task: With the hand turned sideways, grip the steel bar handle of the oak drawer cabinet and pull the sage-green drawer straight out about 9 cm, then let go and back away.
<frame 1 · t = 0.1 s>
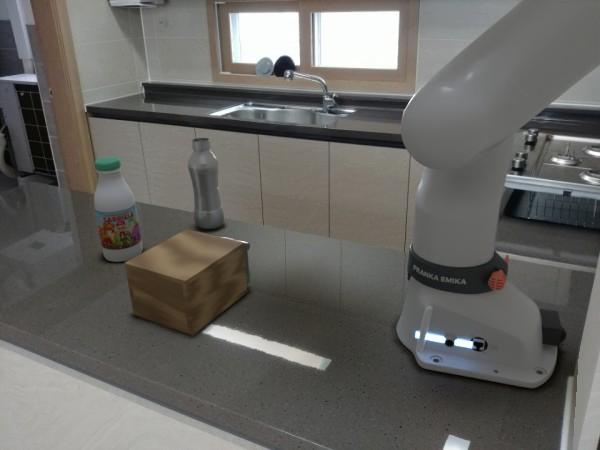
cabinet: (192, 303, 91), on the worktop
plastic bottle: (210, 227, 121), on the worktop
milk bottle: (123, 255, 109), on the worktop
drawer: (206, 266, 93), point 5 cm above the worktop, slide at 0.5 cm
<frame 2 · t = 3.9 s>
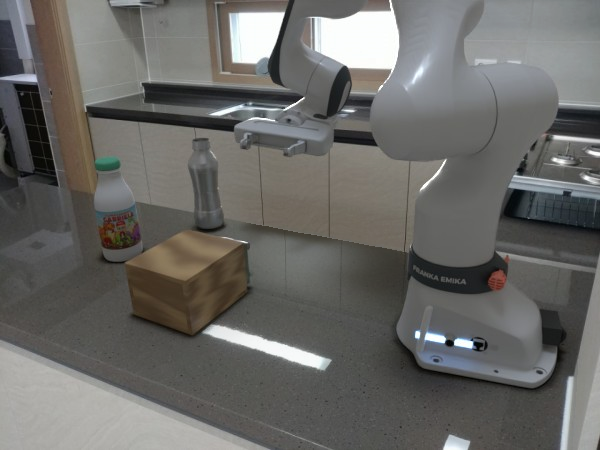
hand: (264, 149, 102), 21 cm above the worktop, tool horizontal, fingers open, 8 cm apart
nothing on the worktop moved.
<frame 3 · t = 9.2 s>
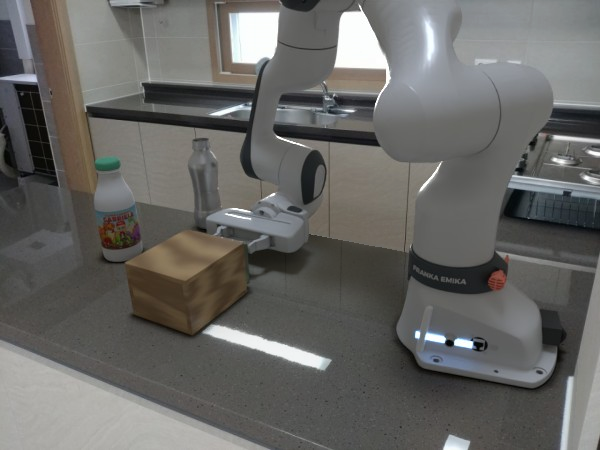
hand: (230, 245, 98), 6 cm above the worktop, tool horizontal, fingers closed on drawer, 6 cm apart
drawer: (206, 266, 93), point 5 cm above the worktop, slide at 0.5 cm, touching gripper
everything else where it was.
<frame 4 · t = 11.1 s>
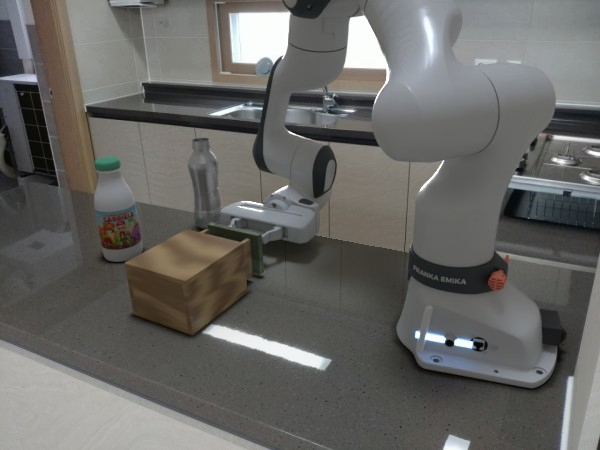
hand: (244, 236, 101), 6 cm above the worktop, tool horizontal, fingers closed on drawer, 6 cm apart
drawer: (222, 256, 96), point 5 cm above the worktop, slide at 5.0 cm, touching gripper
everything else where it was.
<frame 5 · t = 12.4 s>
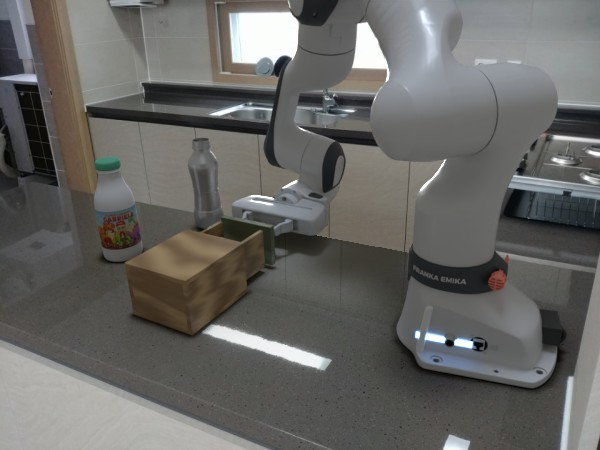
hand: (256, 228, 104), 6 cm above the worktop, tool horizontal, fingers closed on drawer, 6 cm apart
drawer: (235, 247, 99), point 5 cm above the worktop, slide at 9.0 cm, touching gripper
everything else where it was.
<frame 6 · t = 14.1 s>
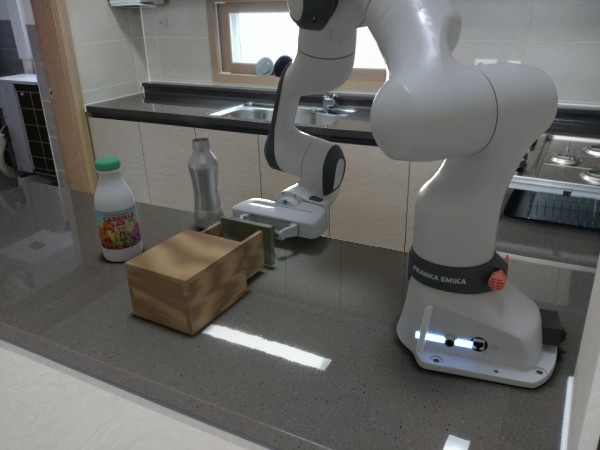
hand: (257, 231, 105), 5 cm above the worktop, tool horizontal, fingers open, 8 cm apart
drawer: (235, 248, 99), point 5 cm above the worktop, slide at 8.8 cm
everything else where it was.
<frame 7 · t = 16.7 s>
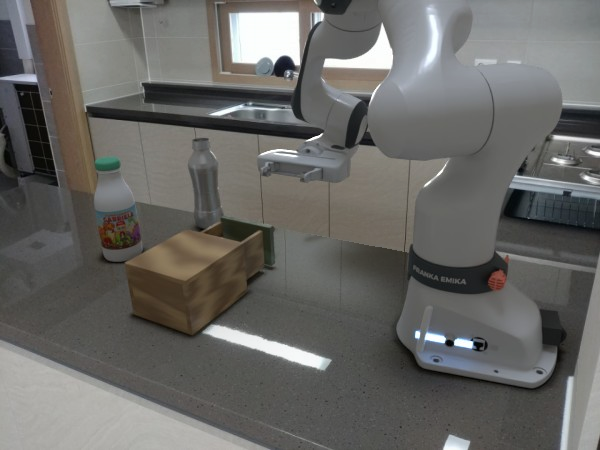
hand: (282, 175, 109), 14 cm above the worktop, tool horizontal, fingers open, 8 cm apart
nothing on the worktop moved.
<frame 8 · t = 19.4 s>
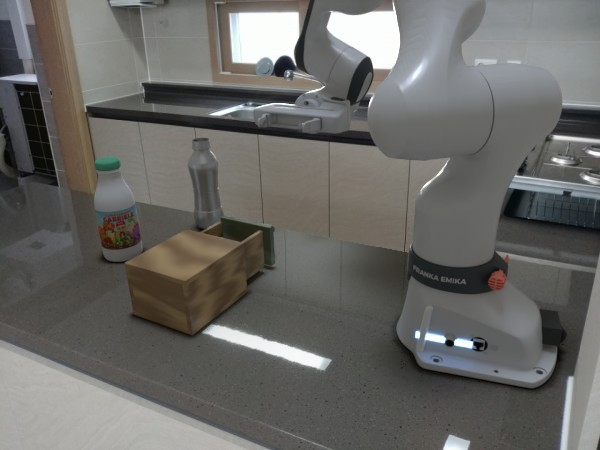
hand: (280, 125, 105), 24 cm above the worktop, tool horizontal, fingers open, 8 cm apart
nothing on the worktop moved.
at the end: drawer slide at 8.8 cm; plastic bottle moved 0.2 cm from its start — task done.
